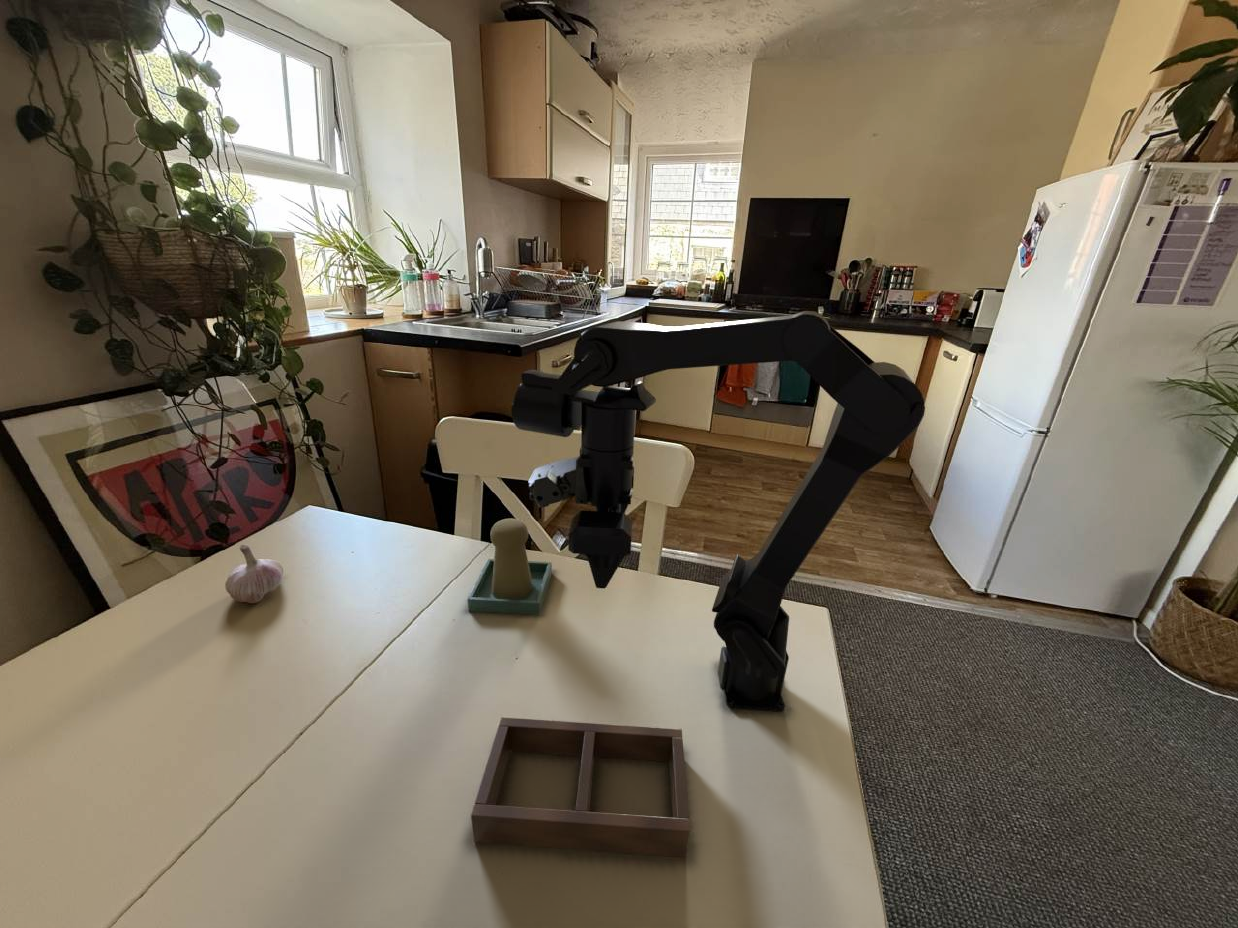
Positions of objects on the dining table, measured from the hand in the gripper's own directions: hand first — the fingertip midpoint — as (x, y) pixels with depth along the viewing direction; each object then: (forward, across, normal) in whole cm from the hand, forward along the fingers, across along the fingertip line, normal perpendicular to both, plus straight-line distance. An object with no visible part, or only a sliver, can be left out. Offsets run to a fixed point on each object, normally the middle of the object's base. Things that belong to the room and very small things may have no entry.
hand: (603, 564), depth 60 cm
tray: (+12, -10, -14) cm, 21 cm away
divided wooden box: (+12, +20, 0) cm, 23 cm away
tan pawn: (+12, -9, -14) cm, 20 cm away
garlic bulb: (+12, -6, -50) cm, 52 cm away
